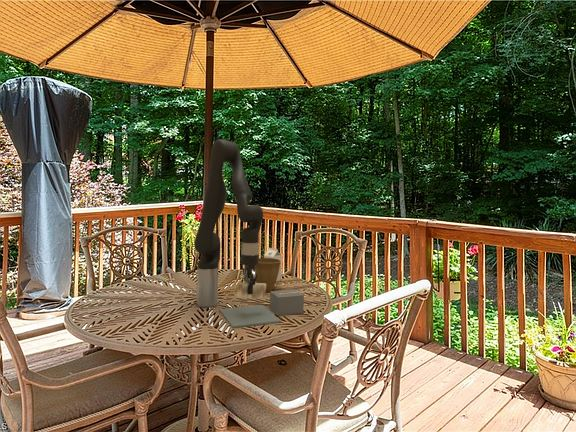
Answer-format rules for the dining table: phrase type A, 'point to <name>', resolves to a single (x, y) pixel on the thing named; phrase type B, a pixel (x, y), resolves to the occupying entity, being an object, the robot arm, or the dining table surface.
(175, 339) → the dining table surface
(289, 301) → the grey rectangular block
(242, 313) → the mat
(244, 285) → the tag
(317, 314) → the dining table surface
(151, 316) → the dining table surface
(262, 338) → the dining table surface
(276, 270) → the plant pot
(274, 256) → the milk carton
